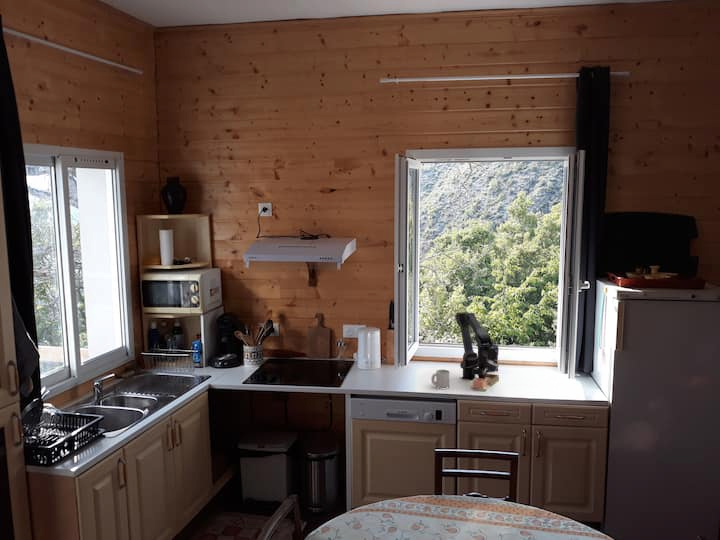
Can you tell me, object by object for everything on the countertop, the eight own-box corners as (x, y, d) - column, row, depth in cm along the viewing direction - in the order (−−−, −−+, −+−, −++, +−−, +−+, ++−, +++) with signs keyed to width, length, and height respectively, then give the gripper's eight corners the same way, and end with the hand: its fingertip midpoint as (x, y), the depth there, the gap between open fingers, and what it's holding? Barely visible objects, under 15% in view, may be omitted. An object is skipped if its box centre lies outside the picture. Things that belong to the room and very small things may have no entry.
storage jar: (479, 370, 368) (479, 346, 366) (484, 366, 376) (485, 343, 375) (495, 372, 363) (495, 348, 361) (500, 368, 371) (500, 345, 369)
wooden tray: (470, 388, 333) (470, 383, 333) (484, 377, 353) (484, 372, 353) (485, 391, 329) (485, 385, 328) (498, 380, 348) (498, 375, 348)
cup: (450, 388, 334) (450, 373, 332) (432, 389, 333) (432, 373, 332) (448, 384, 341) (448, 369, 340) (430, 385, 340) (430, 369, 339)
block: (473, 387, 332) (473, 380, 332) (476, 384, 337) (476, 377, 337) (482, 389, 329) (482, 382, 329) (486, 386, 334) (486, 379, 334)
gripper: (491, 361, 323) (491, 389, 325) (502, 353, 339) (501, 380, 341) (471, 359, 329) (471, 386, 331) (483, 351, 345) (482, 377, 347)
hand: (482, 383), depth 337 cm, fingers closed
